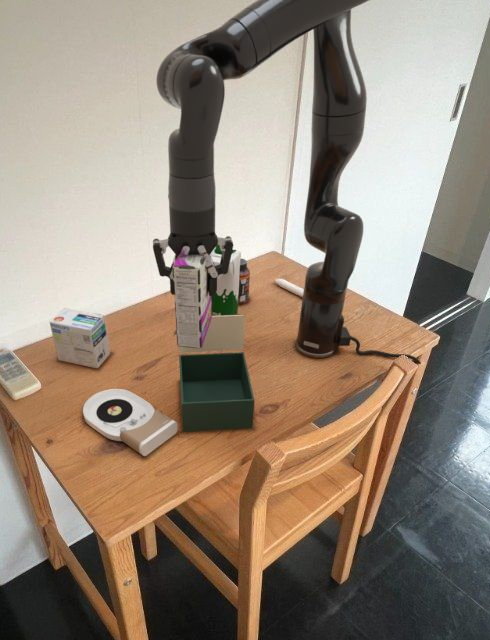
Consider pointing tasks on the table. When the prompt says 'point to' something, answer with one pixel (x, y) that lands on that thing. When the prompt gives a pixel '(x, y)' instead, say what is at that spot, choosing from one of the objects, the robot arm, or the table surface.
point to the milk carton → (226, 285)
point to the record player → (128, 420)
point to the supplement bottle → (243, 282)
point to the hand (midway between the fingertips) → (193, 294)
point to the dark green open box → (215, 392)
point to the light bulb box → (80, 337)
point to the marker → (290, 287)
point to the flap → (222, 334)
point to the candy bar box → (192, 300)
